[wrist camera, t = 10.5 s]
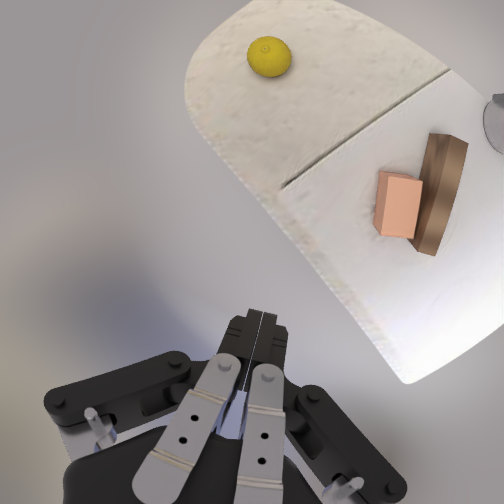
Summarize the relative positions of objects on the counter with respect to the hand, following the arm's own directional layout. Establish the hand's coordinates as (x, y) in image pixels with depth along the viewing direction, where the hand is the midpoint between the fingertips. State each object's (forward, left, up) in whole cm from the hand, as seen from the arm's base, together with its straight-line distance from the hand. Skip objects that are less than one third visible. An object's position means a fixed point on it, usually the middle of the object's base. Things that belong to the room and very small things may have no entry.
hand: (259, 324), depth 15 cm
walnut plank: (-7, +20, -29) cm, 36 cm away
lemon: (-19, -6, -29) cm, 35 cm away
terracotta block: (-4, +15, -29) cm, 33 cm away
